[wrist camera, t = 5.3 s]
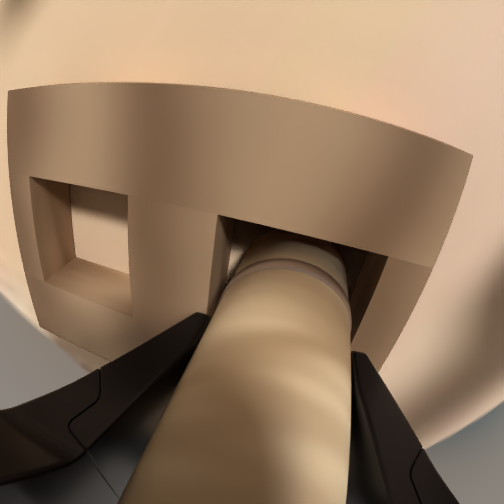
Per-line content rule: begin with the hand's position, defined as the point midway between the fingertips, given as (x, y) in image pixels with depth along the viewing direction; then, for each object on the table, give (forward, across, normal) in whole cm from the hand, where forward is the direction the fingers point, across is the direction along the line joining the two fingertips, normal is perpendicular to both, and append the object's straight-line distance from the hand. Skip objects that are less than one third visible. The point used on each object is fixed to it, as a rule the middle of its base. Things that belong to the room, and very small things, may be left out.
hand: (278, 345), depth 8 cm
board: (+4, +4, 0) cm, 6 cm away
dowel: (+4, 0, 0) cm, 4 cm away
